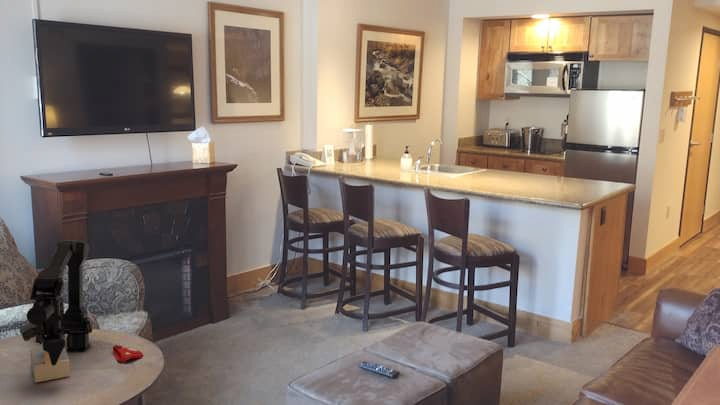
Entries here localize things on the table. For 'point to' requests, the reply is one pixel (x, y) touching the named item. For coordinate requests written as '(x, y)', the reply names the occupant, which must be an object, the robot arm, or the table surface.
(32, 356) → the sleeve
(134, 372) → the table surface
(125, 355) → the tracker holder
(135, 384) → the table surface
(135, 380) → the table surface
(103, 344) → the table surface
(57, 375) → the beige open box
